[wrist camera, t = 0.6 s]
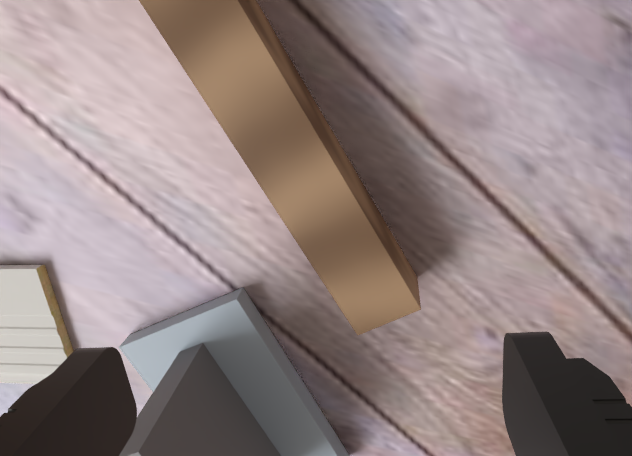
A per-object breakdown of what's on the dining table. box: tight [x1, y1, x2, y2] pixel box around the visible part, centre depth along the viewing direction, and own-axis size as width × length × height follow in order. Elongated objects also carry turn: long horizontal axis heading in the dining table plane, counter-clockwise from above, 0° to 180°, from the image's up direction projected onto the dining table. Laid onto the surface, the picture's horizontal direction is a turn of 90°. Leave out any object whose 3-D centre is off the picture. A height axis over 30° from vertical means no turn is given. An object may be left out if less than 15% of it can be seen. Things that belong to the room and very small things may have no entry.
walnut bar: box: [139, 0, 421, 335], centre depth 25 cm, size 24×4×4 cm, turn 31°
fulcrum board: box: [119, 288, 350, 456], centre depth 30 cm, size 10×16×10 cm, turn 28°
